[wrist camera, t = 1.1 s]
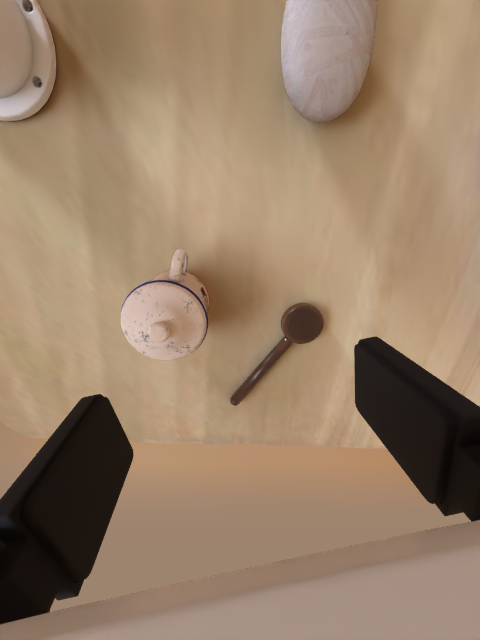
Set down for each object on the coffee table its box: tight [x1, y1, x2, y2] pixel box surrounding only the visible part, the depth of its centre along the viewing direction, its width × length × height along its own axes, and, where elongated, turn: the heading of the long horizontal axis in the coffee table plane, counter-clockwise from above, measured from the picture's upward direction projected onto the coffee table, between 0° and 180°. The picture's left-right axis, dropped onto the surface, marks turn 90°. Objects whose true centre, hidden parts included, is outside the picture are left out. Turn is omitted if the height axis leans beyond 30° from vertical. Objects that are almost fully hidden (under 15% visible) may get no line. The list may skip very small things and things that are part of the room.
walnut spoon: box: [230, 303, 323, 406], centre depth 37 cm, size 20×6×2 cm, turn 143°
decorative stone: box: [281, 0, 377, 123], centre depth 23 cm, size 13×9×5 cm
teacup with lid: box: [121, 250, 209, 360], centre depth 28 cm, size 12×9×12 cm
